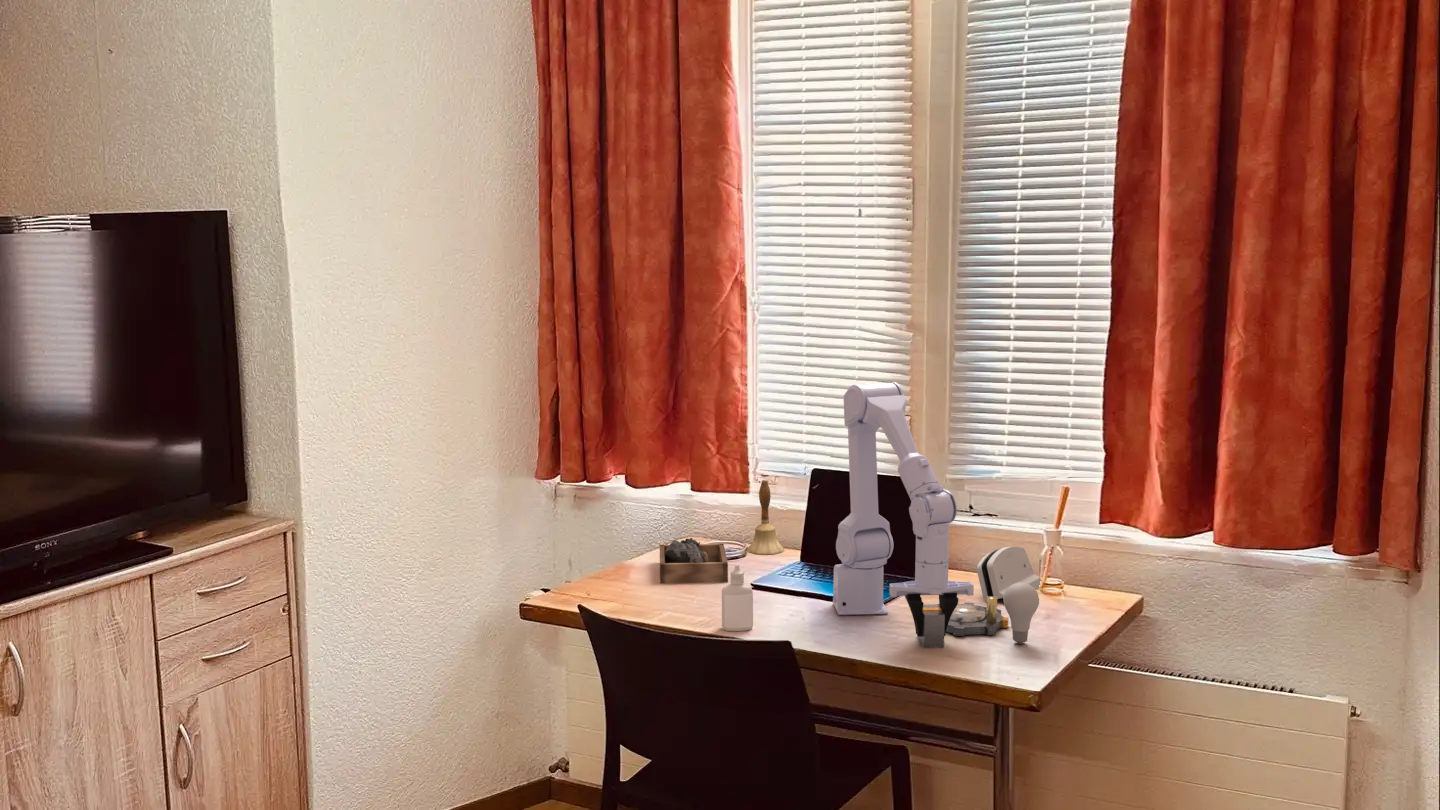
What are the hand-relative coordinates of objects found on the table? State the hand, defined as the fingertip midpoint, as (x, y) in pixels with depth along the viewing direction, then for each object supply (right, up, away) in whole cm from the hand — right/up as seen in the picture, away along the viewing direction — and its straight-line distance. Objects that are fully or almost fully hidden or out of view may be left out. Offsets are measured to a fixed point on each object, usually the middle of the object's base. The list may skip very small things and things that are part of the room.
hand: (930, 634), depth 221 cm
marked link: (0, -1, 0) cm, 1 cm away
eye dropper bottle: (-34, -1, +8) cm, 35 cm away
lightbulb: (+16, -2, -1) cm, 16 cm away
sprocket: (+8, 0, +10) cm, 13 cm away
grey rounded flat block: (+21, +3, +30) cm, 37 cm away
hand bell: (-27, +7, +63) cm, 69 cm away
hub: (+8, 0, +10) cm, 13 cm away
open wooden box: (-43, +5, +46) cm, 63 cm away
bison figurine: (-43, +5, +45) cm, 63 cm away
